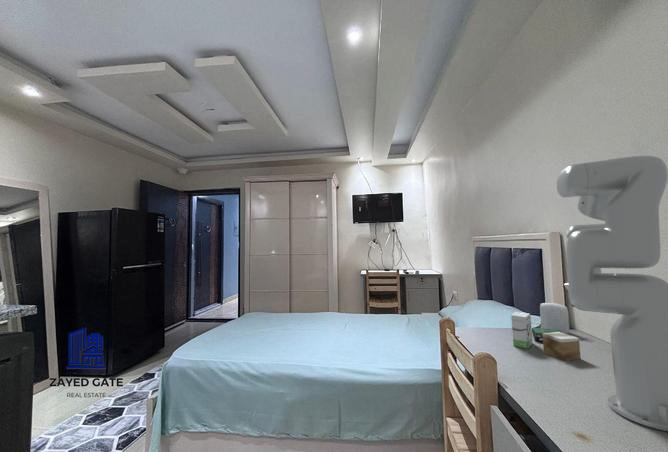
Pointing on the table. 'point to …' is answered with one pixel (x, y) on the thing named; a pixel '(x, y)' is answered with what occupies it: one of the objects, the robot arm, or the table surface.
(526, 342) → the ink box
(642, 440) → the table surface
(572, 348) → the block
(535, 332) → the disk drive
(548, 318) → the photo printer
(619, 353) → the robot arm
